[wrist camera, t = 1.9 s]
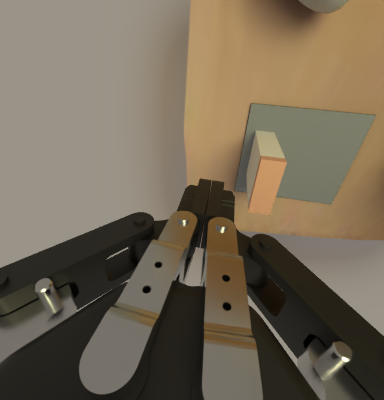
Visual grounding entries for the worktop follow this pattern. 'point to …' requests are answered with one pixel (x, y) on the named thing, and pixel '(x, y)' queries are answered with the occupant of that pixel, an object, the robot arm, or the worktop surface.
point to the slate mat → (307, 148)
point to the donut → (323, 5)
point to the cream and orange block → (264, 172)
